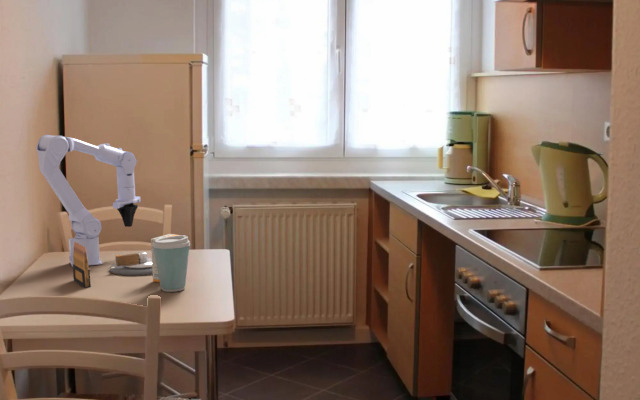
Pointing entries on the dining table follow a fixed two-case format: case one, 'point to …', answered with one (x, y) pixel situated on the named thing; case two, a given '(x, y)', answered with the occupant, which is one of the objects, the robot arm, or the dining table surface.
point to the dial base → (130, 271)
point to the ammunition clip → (81, 266)
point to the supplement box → (154, 266)
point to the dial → (134, 261)
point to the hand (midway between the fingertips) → (128, 226)
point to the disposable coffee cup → (172, 261)
